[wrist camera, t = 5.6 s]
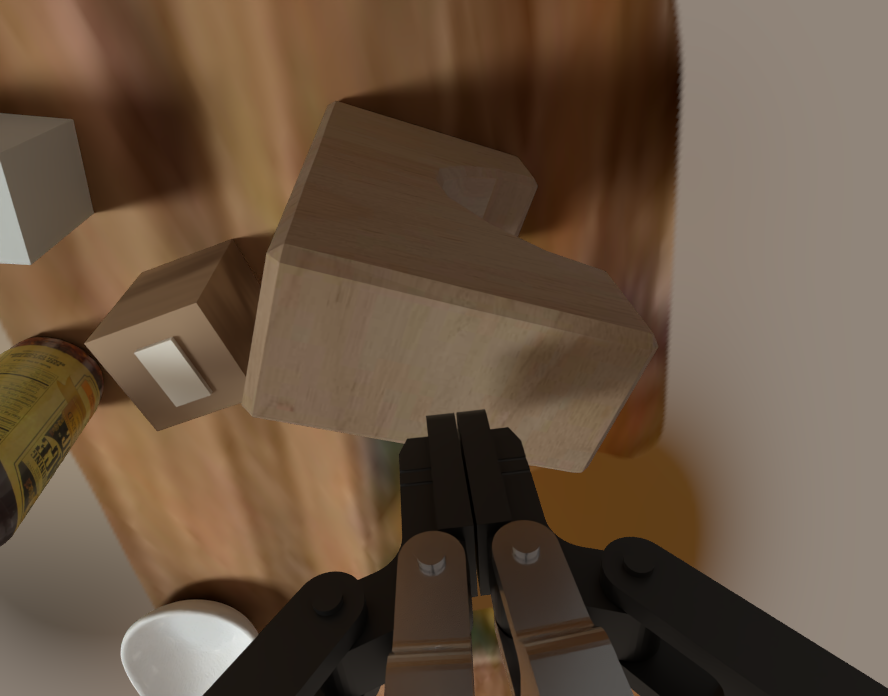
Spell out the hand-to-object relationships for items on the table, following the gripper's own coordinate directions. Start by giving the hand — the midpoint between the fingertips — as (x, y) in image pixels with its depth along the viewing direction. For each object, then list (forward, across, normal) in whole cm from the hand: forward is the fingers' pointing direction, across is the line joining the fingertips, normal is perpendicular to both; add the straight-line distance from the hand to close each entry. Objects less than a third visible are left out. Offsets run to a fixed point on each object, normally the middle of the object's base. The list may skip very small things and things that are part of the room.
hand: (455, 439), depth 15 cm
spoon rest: (+23, +24, +44) cm, 55 cm away
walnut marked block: (+22, +13, +6) cm, 26 cm away
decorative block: (+22, 0, 0) cm, 22 cm away
